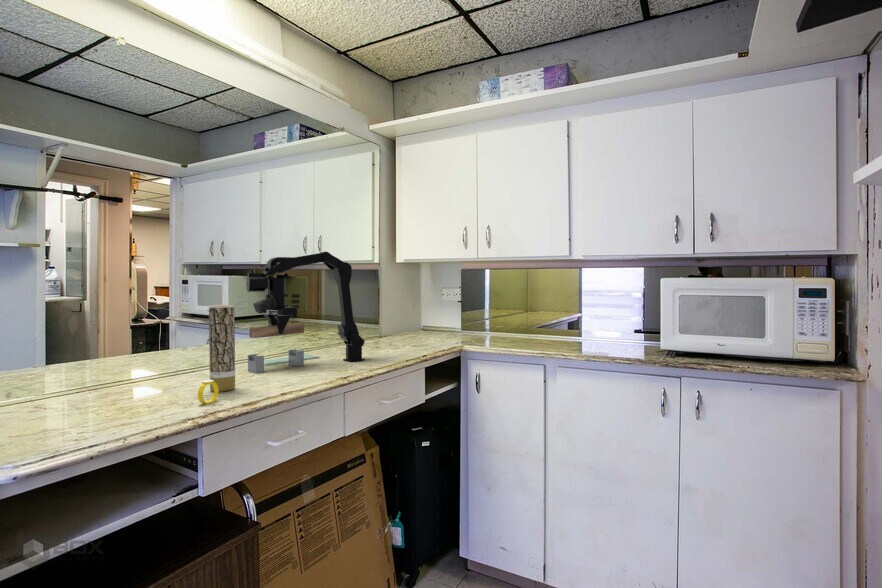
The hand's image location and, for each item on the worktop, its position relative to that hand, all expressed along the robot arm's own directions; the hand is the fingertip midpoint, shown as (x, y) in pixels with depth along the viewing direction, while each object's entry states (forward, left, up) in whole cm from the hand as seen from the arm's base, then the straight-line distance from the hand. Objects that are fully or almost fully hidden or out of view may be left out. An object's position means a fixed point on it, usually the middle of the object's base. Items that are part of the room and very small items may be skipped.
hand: (277, 333), depth 174 cm
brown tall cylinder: (-20, +29, -13) cm, 38 cm away
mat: (+12, -11, -13) cm, 21 cm away
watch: (-32, +38, -13) cm, 51 cm away
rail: (0, 0, -1) cm, 1 cm away
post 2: (-1, -7, -13) cm, 14 cm away
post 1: (-1, +9, -13) cm, 16 cm away
